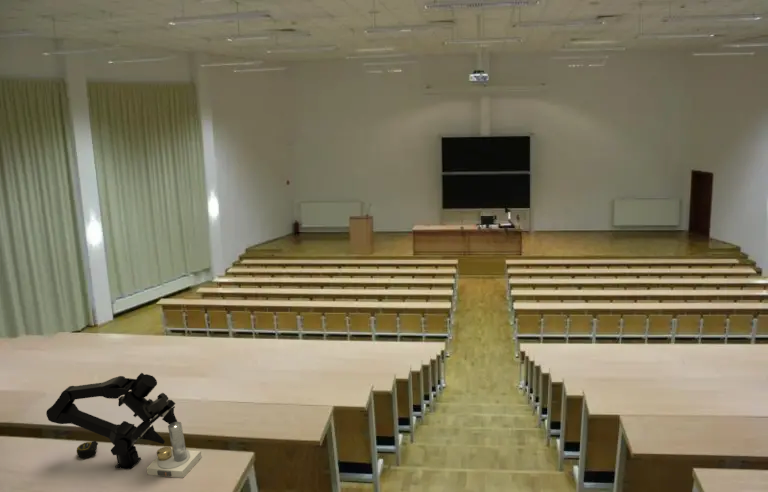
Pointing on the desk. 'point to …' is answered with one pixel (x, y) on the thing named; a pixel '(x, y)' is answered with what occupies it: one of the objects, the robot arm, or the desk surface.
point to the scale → (174, 465)
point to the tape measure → (87, 449)
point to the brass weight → (164, 453)
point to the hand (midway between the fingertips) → (172, 435)
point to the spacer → (177, 441)
